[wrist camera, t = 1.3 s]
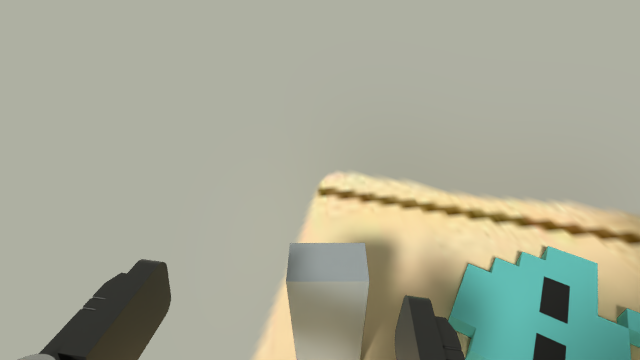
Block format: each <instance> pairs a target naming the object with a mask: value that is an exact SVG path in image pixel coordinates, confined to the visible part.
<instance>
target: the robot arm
mask: <svg viewBox="0 0 640 360" xmlns="http://www.w3.org/2000/svg"><path fill="white" fill-rule="evenodd" d="M170 301H171V293H170V285H169V279H168V271H167V265H166V263H164V262H159V261H151V260H144V259H142V260H139V261H138V262H137V263H136V264H135V265H134V266H133V268H132V269H131V270H130V271H129V272H128V273H127V274H126V273H120V274H119V275H117V276H115V277H114V278H112V279H111V280H109V281H107V282H106V283H105V284H104V285H103V286H102V287H101V288H100V289H99V290H98V291H97V292H96V293H95V294H94V295H93V298H92V299H90V300H89V301H88V302H87V303H86V304H85V305H84V306H83V309H81V310H79V312H78V313H77V314H76V315H75V316H74V317H73V318H72V319H71V320H70V321H69V322H68V323H67V324H66V325H65V326H64V328H63V329H62V330H61V331H60V332H59V333H58V334H57V335H56V336H55V337H54V338H53V339H52V340H51V341H50V342H49V344H48V345H47V346H46V347H45V348H44V349H43V350H42V351H41V352H40V353H39V354H35V355H30V356H26V357H23V358H21V359H18V360H138V359H139V357H140V355H141V354H142V352H143V350H144V349H145V347H146V346H147V344H148V343H149V341H150V340H151V338H152V336H153V335H154V333H155V331H156V330H157V328H158V327H159V325H160V324H161V322H162V320H163V319H164V317H165V316H166V314H167V312H168V309H169V306H170ZM461 349H462V348H461V345H460V342H459V339H458V336H457V333H456V331H455V330H454V329H453V327H452V326H451V325H450V323H449V322H448V321H447V319H446V318H443V317H436V316H434V312H433V308H432V304H431V301H430V299H428V298H421V297H414V296H407V295H406V296H405V297H404V300H403V304H402V307H401V311H400V315H399V319H398V323H397V326H396V331H395V352H396V360H465V358H464V354H463V352H462V351H461Z"/></svg>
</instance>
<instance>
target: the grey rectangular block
mask: <svg viewBox="0 0 640 360" xmlns="http://www.w3.org/2000/svg"><path fill="white" fill-rule="evenodd" d="M286 284H287V292H288V299H289V307H290V314H291V321H292V329H293V336H294V344H295V351H296V358H297V360H360V356H361V347H362V339H363V331H364V322H365V314H366V306H367V297H368V289H369V274H368V266H367V257H366V249H365V243H290V249H289V258H288V268H287V278H286Z"/></svg>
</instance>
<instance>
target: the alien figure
mask: <svg viewBox="0 0 640 360" xmlns="http://www.w3.org/2000/svg"><path fill="white" fill-rule="evenodd" d="M448 322H449V323H450V325H451V326H452V327H453V329H454V330H456V331H458V332H460V333H462V334H464V335H466V336H468V337H470V338H471V341H470V344H469V348H468V352H467V355H466V359H465V360H631V352H630V344H632V345H635V346H637V347H639V348H640V313H638V312H636V311H633V310H630V309H628V308H627V309H626V310H625V311H624V312H623V313H622V314H621V315H620V316H619V317H618V318H617V324H616V323H614V322H611V321H609V320H606V319H604V318H601V317H599V316H598V269H597V263H595V262H592V261H589V260H586V259H583V258H581V257H578V256H575V255H572V254H569V253H566V252H563V251H561V250H558V249H555V248H552V247H549V246H548V247H547V249H546V250H545V252H544V254H543V255H542V258H538V257H535V256H533V255H530V254H527V253H524V252H522V253H521V255H520V257H519V259H518V261H517V263H516V265H514V264H511V263H509V262H506V261H503V260H501V259H498V258H495V260H494V263H493V265H492V267H491V269H490V272H488V271H486V270H483V269H481V268H478V267H476V266H473V265H471V264H468V266H467V269H466V271H465V274H464V277H463V280H462V282H461V285H460V288H459V291H458V294H457V297H456V300H455V303H454V305H453V308H452V311H451V314H450V317H449V320H448Z"/></svg>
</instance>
